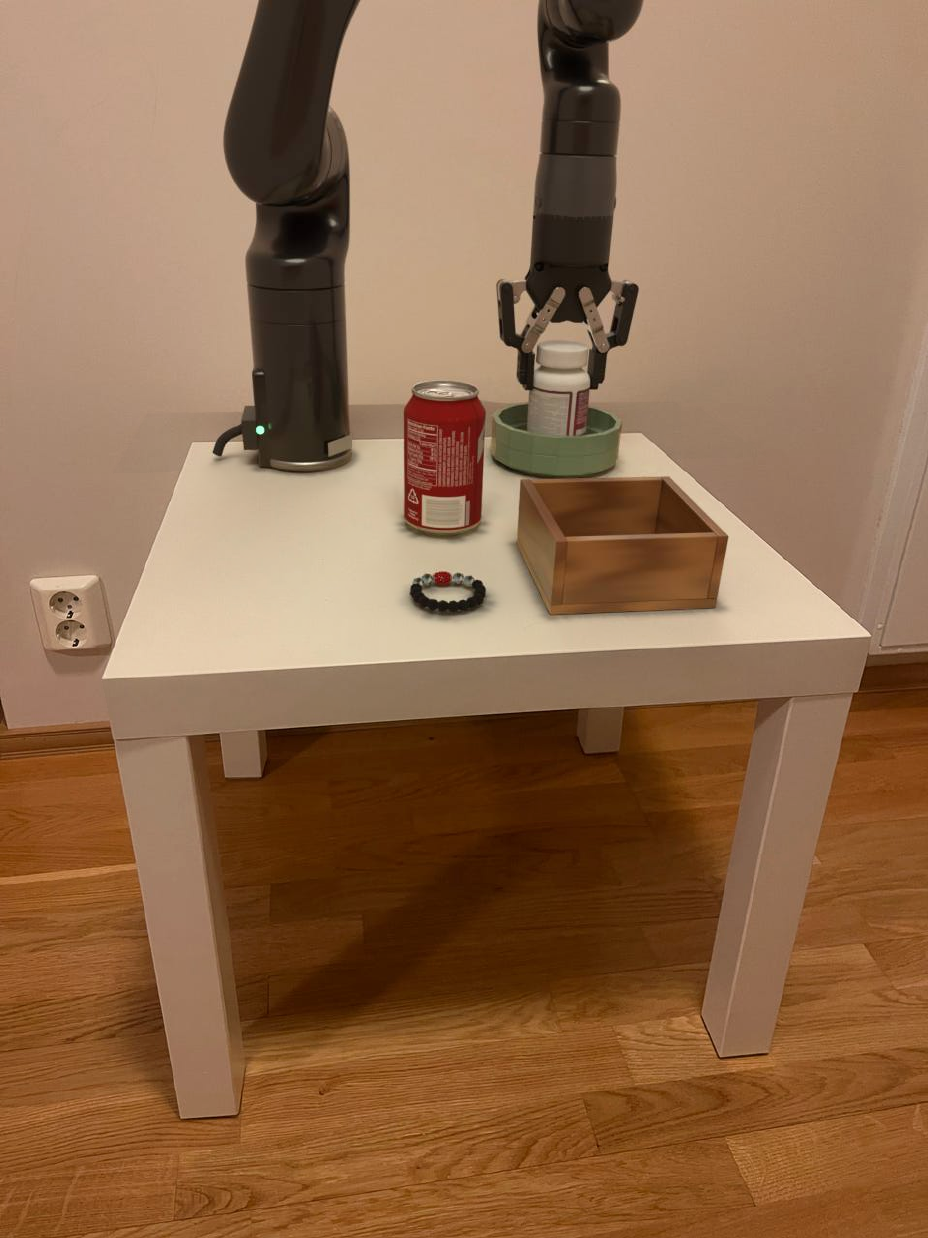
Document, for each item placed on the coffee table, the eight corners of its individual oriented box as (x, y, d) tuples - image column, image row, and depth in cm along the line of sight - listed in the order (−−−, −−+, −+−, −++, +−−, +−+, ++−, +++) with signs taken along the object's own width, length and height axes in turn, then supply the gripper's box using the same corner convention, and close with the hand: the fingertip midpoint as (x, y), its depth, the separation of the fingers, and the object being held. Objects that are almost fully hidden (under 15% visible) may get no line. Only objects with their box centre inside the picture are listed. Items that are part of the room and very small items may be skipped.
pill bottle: (567, 443, 100) (576, 337, 94) (593, 460, 95) (604, 350, 89) (516, 447, 98) (522, 339, 92) (539, 466, 93) (547, 352, 87)
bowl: (504, 482, 90) (506, 438, 88) (482, 441, 101) (484, 401, 99) (632, 479, 92) (637, 436, 89) (597, 439, 103) (601, 400, 101)
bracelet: (479, 578, 70) (479, 567, 70) (492, 613, 65) (493, 601, 65) (405, 582, 69) (405, 570, 69) (414, 617, 64) (414, 604, 64)
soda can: (472, 544, 76) (478, 402, 70) (395, 535, 77) (394, 395, 72) (487, 514, 82) (493, 381, 76) (414, 507, 83) (415, 375, 77)
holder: (550, 615, 65) (556, 541, 63) (516, 544, 76) (520, 478, 74) (716, 608, 67) (729, 535, 64) (660, 540, 78) (669, 475, 75)
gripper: (635, 207, 89) (616, 379, 97) (491, 204, 87) (484, 379, 95) (660, 213, 82) (638, 397, 90) (505, 210, 80) (496, 398, 88)
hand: (559, 387), depth 93 cm, fingers closed on pill bottle, 6 cm apart
